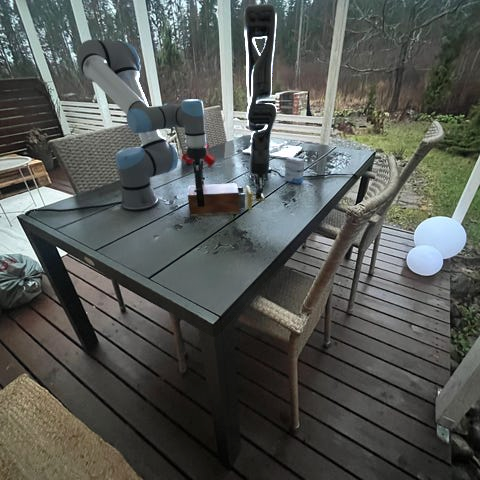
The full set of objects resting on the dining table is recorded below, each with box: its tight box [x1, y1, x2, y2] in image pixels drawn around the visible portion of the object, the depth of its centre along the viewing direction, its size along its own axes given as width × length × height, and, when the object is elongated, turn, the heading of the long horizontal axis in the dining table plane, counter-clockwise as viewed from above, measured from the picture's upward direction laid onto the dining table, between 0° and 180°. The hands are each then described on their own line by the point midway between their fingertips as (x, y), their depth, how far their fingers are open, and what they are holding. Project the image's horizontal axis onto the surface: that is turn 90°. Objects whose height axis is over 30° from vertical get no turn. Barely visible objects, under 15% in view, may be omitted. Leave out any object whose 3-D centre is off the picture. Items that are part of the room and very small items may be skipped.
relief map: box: [242, 138, 304, 160], centre depth 192 cm, size 27×35×5 cm
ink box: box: [284, 156, 306, 185], centre depth 140 cm, size 8×5×12 cm, turn 47°
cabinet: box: [187, 182, 240, 217], centre depth 114 cm, size 20×10×9 cm, turn 96°
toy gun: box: [181, 141, 216, 167], centre depth 167 cm, size 18×4×15 cm
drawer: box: [237, 184, 266, 211], centre depth 114 cm, size 25×9×7 cm, turn 96°
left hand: (201, 200), depth 113 cm, fingers closed on cabinet, 10 cm apart
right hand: (258, 200), depth 116 cm, fingers closed
